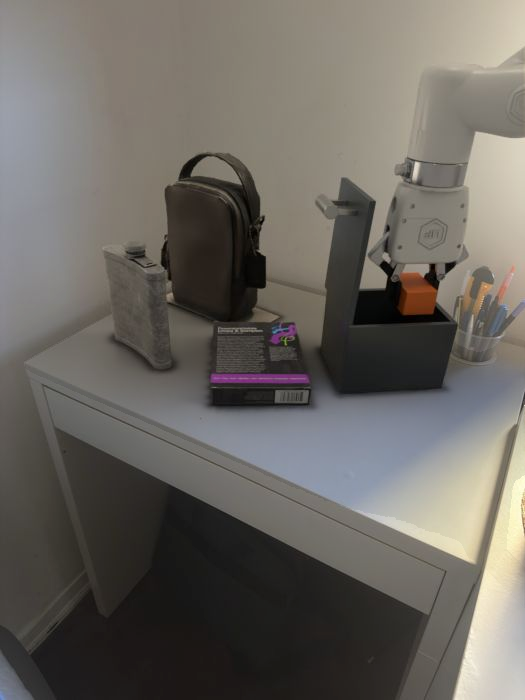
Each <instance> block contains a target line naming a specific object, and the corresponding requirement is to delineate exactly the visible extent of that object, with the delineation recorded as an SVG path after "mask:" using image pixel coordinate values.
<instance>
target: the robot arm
mask: <svg viewBox="0 0 525 700" xmlns="http://www.w3.org/2000/svg"><path fill="white" fill-rule="evenodd" d="M476 132H477V133H483V134H488V135H493V136H497V137H502V138H508V139H524V138H525V45H524V46H523V47H521V49H519V50H518V51H516V52H515V53H513V54H512V55H510V56H509V57H508V58H506V60H504V61H503V62H501V63H500V64H499V65H498V66H496V67H495V66H494V67H491V66H490V67H484V66H483V65H480V64H476V63H465V62H461V63H460V62H435V63H430V64H428V65H427V66H425V68H424V69H423V70H422V72H421V75H420V78H419V83H418V88H417V94H416V100H415V107H414V112H413V118H412V125H411V131H410V137H409V141H408V142H409V143H408V149H407V154H406V157H404V162H403V163H400V164H398V163H397V164H395V166H394V176H400V177H401V178H402V181H398V182H397V185H396V187H395V190H394V193H393V195H392V199H391V201H390V205H389V208H388V211H387V214H386V218H385V223H384V227H383V232H382V236H381V238H380V239H379V240H378V241H377V242H376V243H375V244H374V245H373V247H372V248H371V249H369V251H368V252H367V254H366V256H367V258H368V259H369V260H370V261H371V262H372V263H373V264H375V265H376V266H377V267H378V268H380V270H382V272H383V273H385V275H386V283H385V287H384V288H385V298H386V299H387V301H388V302H389V303H390V305H391V306H392V307H397V306H398V305H399V299H400V294H401V288H402V282H401V281H400V276H401V274H402V273H404V272H403V271H404V269H405V267H406V265H428V272H425V274H424V275H423V278H424V279H425V280H426V281H428V282H429V283H430V284H431V285H432V286H433V287H434V288H435V289H436V290H437V291H438V292H439V288H440V283H441V281H444V280H445V278H446V276H447V274H449V273H450V272H451V271H452V270H453V269H455V267H456V266H457V265H460V263H462V262H465V260H467V259H468V258H469V257H470V256H469V255H470V254H469V252H468V249H467V248H466V246H465V239H466V234H467V226H468V220H469V219H468V218H469V209H470V208H469V207H470V187H468V186H467V185H464V184H465V179H466V174H467V171H468V165H469V162H470V157H471V153H472V149H473V145H474V141H475V136H476ZM384 253H385V254H387V257H388V258H389V260H386V258H384V257H383V255H384Z"/></svg>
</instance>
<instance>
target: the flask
mask: <svg viewBox="0 0 525 700" xmlns="http://www.w3.org/2000/svg"><path fill="white" fill-rule="evenodd" d="M146 249H147V242H146V241H145V240H141V239H130V240H126V241H124V242H123V243H122V245H120V244H108V245H105V246H103V247H102V254H103V260H104V268H105V274H106V282H107V290H108V297H109V302H110V303H109V305H110V310H111V320H112V324H113V331H114V332H113V333H114V338H115V340H116V341H117V342H120V343H122V344H124V345H126V346H128V347H130V348H131V349H133V350H135V351H136V352H137V353H138V354H140V355H141V356H143V357H144V359H146V360H147V361H148V362H149V363H150V365H151V366H152V367H153V368H154V369H156V370H161V371H163V370H164V371H165V370H167V369H169V368H171V367H172V363H173V361H172V351H171V350H172V349H171V336H170V323H169V310H168V301H167V294H168V293H167V282H166V270H165V269H164V268H163V267H162V266H161V263H158V262H157V261H156V260H154V259H152V258H151V257H149V256H147V253H146V251H147V250H146Z"/></svg>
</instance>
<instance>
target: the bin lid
mask: <svg viewBox="0 0 525 700" xmlns="http://www.w3.org/2000/svg"><path fill="white" fill-rule="evenodd" d="M339 183H340V185H339V190H338V197H337V199H335V198H334V199H333V198H329V197H328V196H327V195H326V194H319V195H317V196H316V198H315V199H314V204H315V206H316V208H317V209H318V210H319V211H320V212H321V213H322V214H323V215H324V217H325V218H326V219H327V220H334V221H333V229H332V235H331V242H330V249H329V256H328V261H327V268H326V275H325V281H324V288H325V290H326V293H327V292H328V293H329V295H330V297H331V299H332V300H333V302H334V304H335V306H336V307H337V309H338V311H339V312H340V314H341V316H342V318H343V319H344V321H345V323H346V324H347V325H352V324H353V319H354V314H355V309H356V303H357V298H358V293H359V289H361V288H360V287H361V282H362V278H363V272H364V267H365V261H366V256H367V253H368V252H367V251H368V246H369V240H370V236H371V231H372V225H373V220H374V215H375V210H376V204H377V201H376V199H374V198H373V197H372V196H371V195H369V194H368V193H367V192H365V191H364V190H363V189H362V188H361V187H360V186H358V185H357V184H356V183H354V182H353V181H352V180H351V179H350V178H348V177H343V176H341V177H340V182H339Z"/></svg>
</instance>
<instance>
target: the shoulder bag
mask: <svg viewBox="0 0 525 700" xmlns="http://www.w3.org/2000/svg"><path fill="white" fill-rule="evenodd" d="M208 157H213V158H217V159H219V160H220V161H223V162H225V163H226V164H227V165H229V166H230V167H231V168H232V170H233V171H234V172H235V174H236V176H237V177H238V179H239V182H240V184H239V183H235V182H231V181H228V180H223V179H219V178H215V177H210V176H204V175H193V176H191V175H192V173H193V171H194V169H195V167H196V166H197V165H198V164H199V163H200V162H201V161H202V160H204V159H205V158H208ZM164 201H165V208H166V209H165V210H166V224H167V233H166V234H164V237H163V240H164V241H163V244H162V246H161V248H160V251H161V252H160V261H159V262H160V263H159V264H160V265H161V266H162V267H163V268H164V269H165V271H166V273H167V274H166V276H167V277H166V278H167V280H168V282H169V281H170V282H171V292H169V293H166V294H167V303H170V304H172V305H175V306H178V307H180V308H182V309H185V310H187V311H189V312H192V313H195V314H197V315H200V316H202V317H204V318H206V319H209V320H212V321H213V322H214V321H216V322H274V321H275V320H277V319H278V318H280V316H279V315H277V314H274V313H272V312H269V311H266V310H263V309H260V308H258V307H256V305H257V303H258V292H259V290H264V289H266V288H267V255H266V254H264V253H262V252H261V251H260V237H261V232H262V228H263V227H262V226H263V224H264V222H265V220H266V215H265V213H263V214H261V196H260V194H259V192H258V190H257V187H256V183H255V180H254V177H253V175H252V172H251V171H250V170H249V169H248V167H247V166H246V164H244V162H243V161H241V160H240V159H239V158H238V157H236V156H234V155H232V154H231V153H229V152H212V151H209V150H205V151H201V152H197V153H195V155H194V156H193V157H192V158H190V159H188V160H187V161H186V162H185V163H184V164H183V165H182V167H181V169H180V171H179V175H178V177H177V181H175V182H174V183H173V184H171V183H169V184H167V185H166V186H165V188H164Z"/></svg>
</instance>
